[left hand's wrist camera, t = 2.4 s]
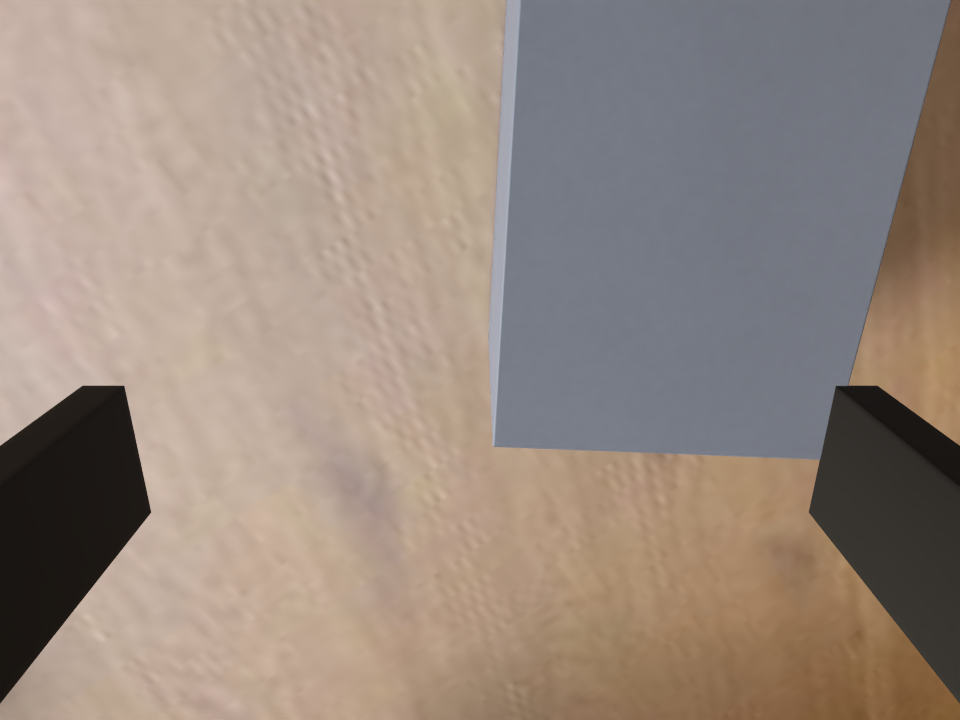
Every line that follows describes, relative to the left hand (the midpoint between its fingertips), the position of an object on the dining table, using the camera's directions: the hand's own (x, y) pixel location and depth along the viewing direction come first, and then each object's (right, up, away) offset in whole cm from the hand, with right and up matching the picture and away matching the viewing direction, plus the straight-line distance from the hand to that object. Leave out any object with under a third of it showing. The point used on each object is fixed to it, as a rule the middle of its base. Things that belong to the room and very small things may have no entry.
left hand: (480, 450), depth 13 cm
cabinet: (+6, +13, +16) cm, 21 cm away
